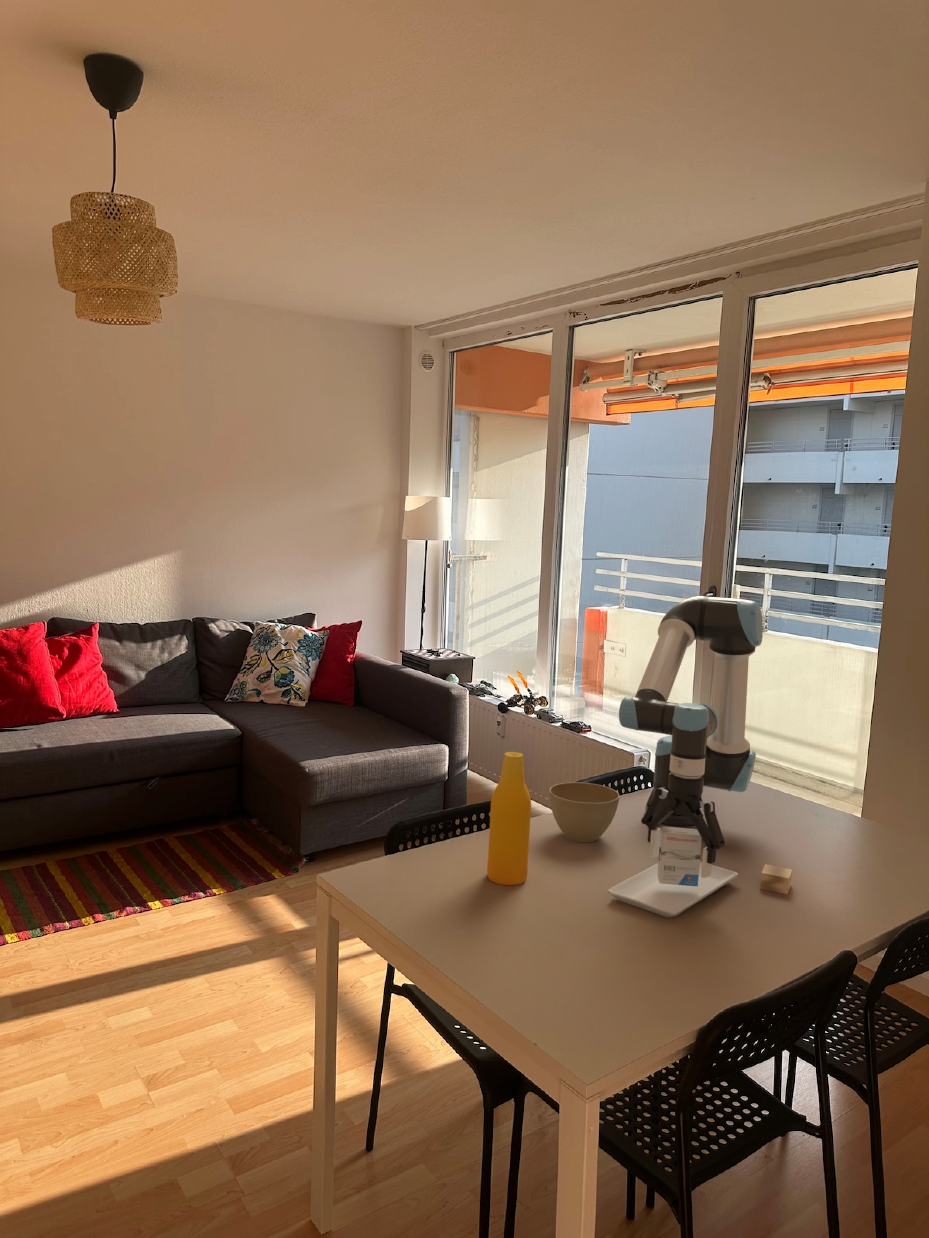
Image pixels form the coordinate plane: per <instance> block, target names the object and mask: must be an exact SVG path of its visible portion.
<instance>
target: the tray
mask: <svg viewBox="0 0 929 1238" xmlns="http://www.w3.org/2000/svg"><path fill="white" fill-rule="evenodd" d="M657 872H658V862H657V863H655V864H654V865H652V866H649V867H648V868H646V869H645V870H642V871H640V872H639V873H636V874H635V875H633V876H631V877H629V878H627V879H625V880H623V881H621V882H620V883H617V884H615V885H614V886H612V887H610V888H608V890H607V893H608V894H609V895H610V896H612V897H614V898H615V899H617V900H619V901H621V902H624V903H625V904H628V905H631V906H634V907H636V908H639V909H642V910H645V911H647V912H651V913H654V914H657V915H659V916H663V917H665V918H673V917H676V916H678V915H680V914H681V913H683V912H684V911H686V910H687V909H689V908H691V907H692V906H694V905H695V904H697V903H699V902H700V901H702V900H704V899H705V898H706V897H708V896H709V895H711V894H713V893H714V892H716V891H717V890H719V889H721V888H722V887H723V886H725V885H726V884H728V883H729V882H731V881H733V880H734V879H735V878H737V877H738V876H739V873H738V872H736V871H734V870H730V869H726V868H725V867H724V868H723V867H720V866H717V865H713V864H712V868H711V875H710V876H708V877H706V878H702V877H701V872H702V861H700V867H699V879H698V886H686V885H673V884H661V883H659V880H658V876H657Z"/></svg>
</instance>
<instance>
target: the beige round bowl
mask: <svg viewBox="0 0 929 1238" xmlns="http://www.w3.org/2000/svg"><path fill="white" fill-rule="evenodd" d="M548 794H549V802H550V808H551V812H552V815H553V819H554V820H555V822H556V824H557V825H558V828H559V829H560V831H561V832H562V833H563V834H564V836H565V838H567V839H568V840H571V841H574V842H578V843H579V842H580V843H593V842H595V841H597V840H598V839H599V838H600V837H602V835H603V834H604V833H605V832H606V830H608V828H609V827H610V825H611V824H612V821H613V820H614V817H615V816H616V812H617V809H618V806H619V802H620V793H619V792H618V791H617V790H615V789H613V788H611V787H608V786H605V785H601V784H597V783H589V782H579V781H578V782H577V781H576V782H574V781H571V782H562V783H557V784H554V785H552V786H551V787H550V788H549V793H548Z"/></svg>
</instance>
